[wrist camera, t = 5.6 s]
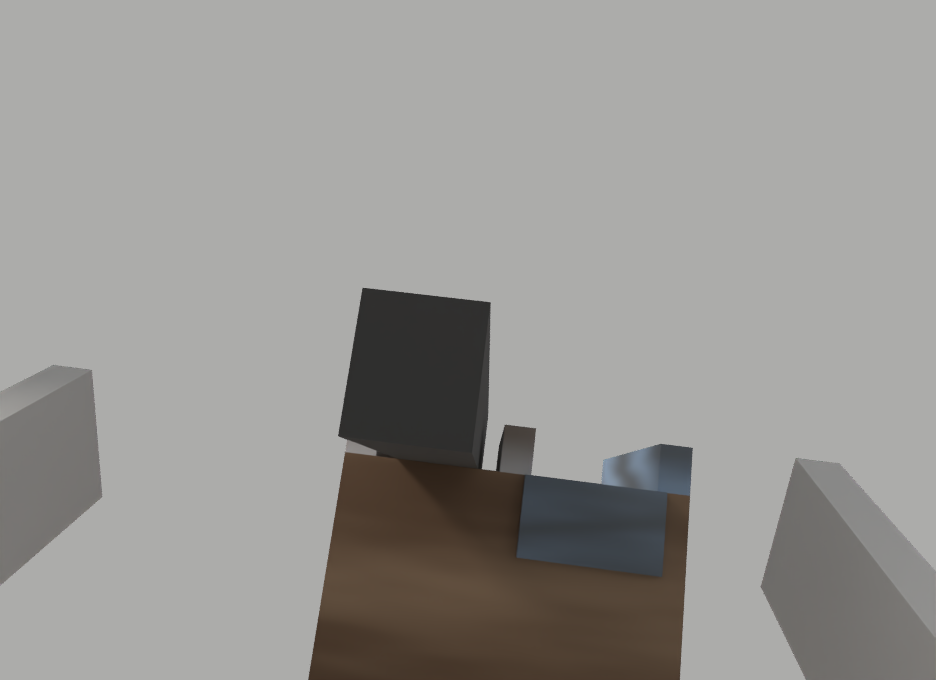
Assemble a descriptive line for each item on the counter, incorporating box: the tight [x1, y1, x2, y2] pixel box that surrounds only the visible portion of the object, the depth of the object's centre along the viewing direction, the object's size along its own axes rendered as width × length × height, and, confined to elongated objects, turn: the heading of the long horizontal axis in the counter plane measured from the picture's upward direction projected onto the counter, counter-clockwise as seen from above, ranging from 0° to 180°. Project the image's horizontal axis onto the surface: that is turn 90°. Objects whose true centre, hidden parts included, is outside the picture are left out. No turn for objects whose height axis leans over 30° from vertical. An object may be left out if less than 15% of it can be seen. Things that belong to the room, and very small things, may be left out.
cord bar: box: [338, 288, 491, 469], centre depth 24 cm, size 21×3×3 cm, turn 178°
